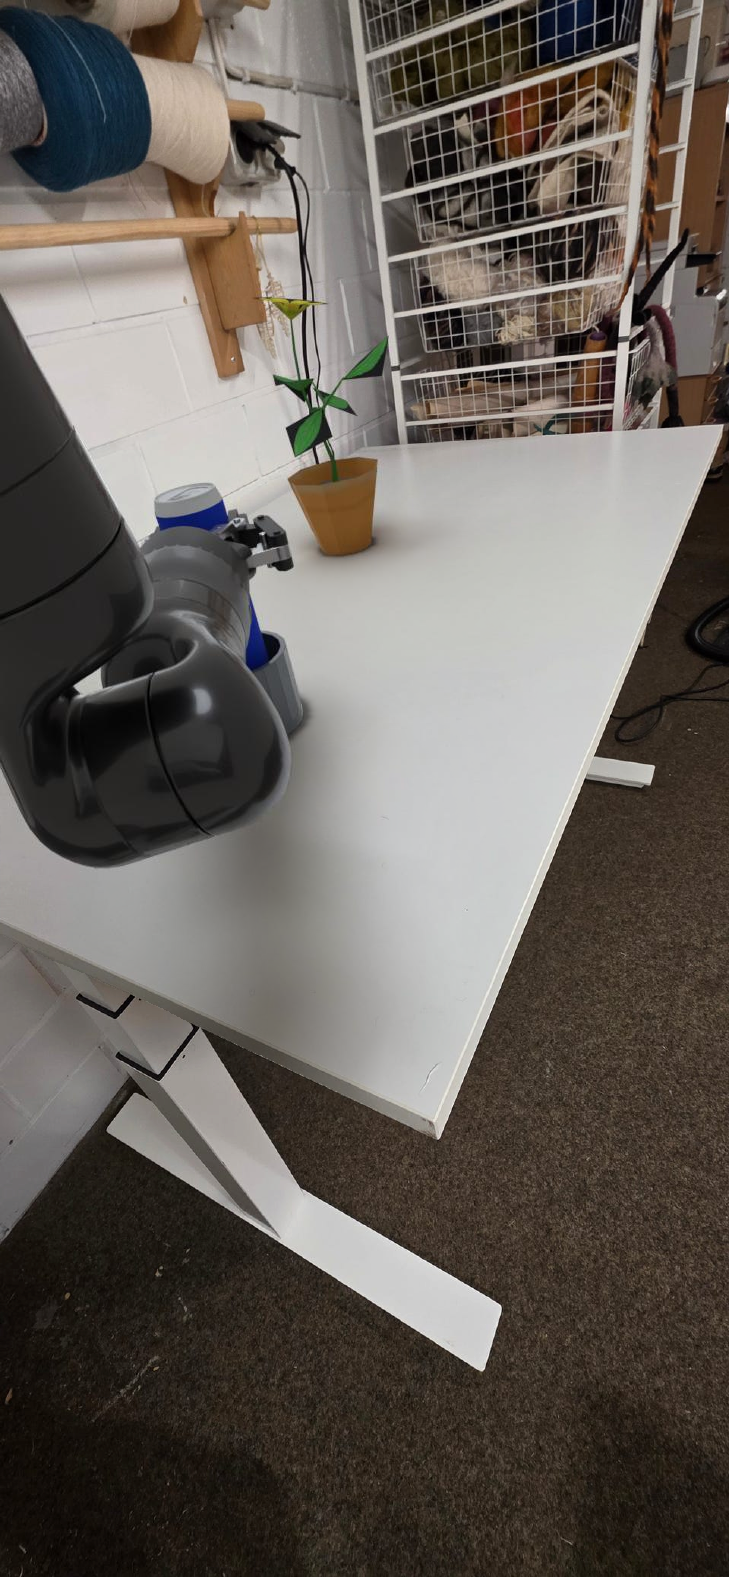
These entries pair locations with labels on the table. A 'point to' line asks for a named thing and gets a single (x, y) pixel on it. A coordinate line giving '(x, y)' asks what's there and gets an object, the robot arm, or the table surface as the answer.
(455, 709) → the table surface
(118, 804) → the robot arm
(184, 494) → the beverage can
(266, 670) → the grey pen holder cup
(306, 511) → the potted plant
